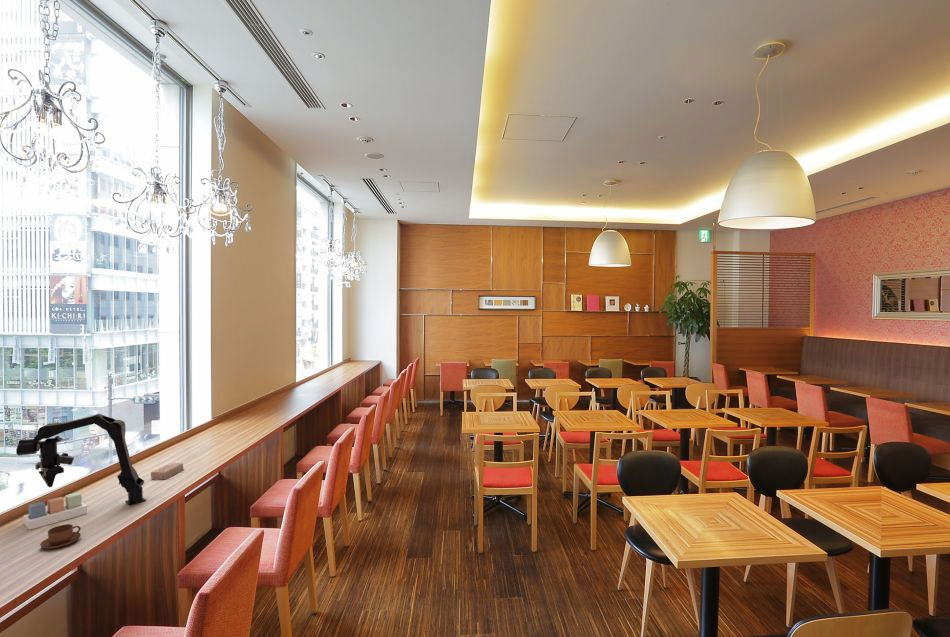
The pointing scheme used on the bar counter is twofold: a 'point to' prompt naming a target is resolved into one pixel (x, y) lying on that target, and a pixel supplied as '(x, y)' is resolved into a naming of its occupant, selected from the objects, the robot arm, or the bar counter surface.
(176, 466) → the brick
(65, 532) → the cup and saucer
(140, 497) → the robot arm
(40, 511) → the blue block
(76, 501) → the block sage
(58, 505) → the block terracotta
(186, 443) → the bar counter surface
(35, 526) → the socket board
